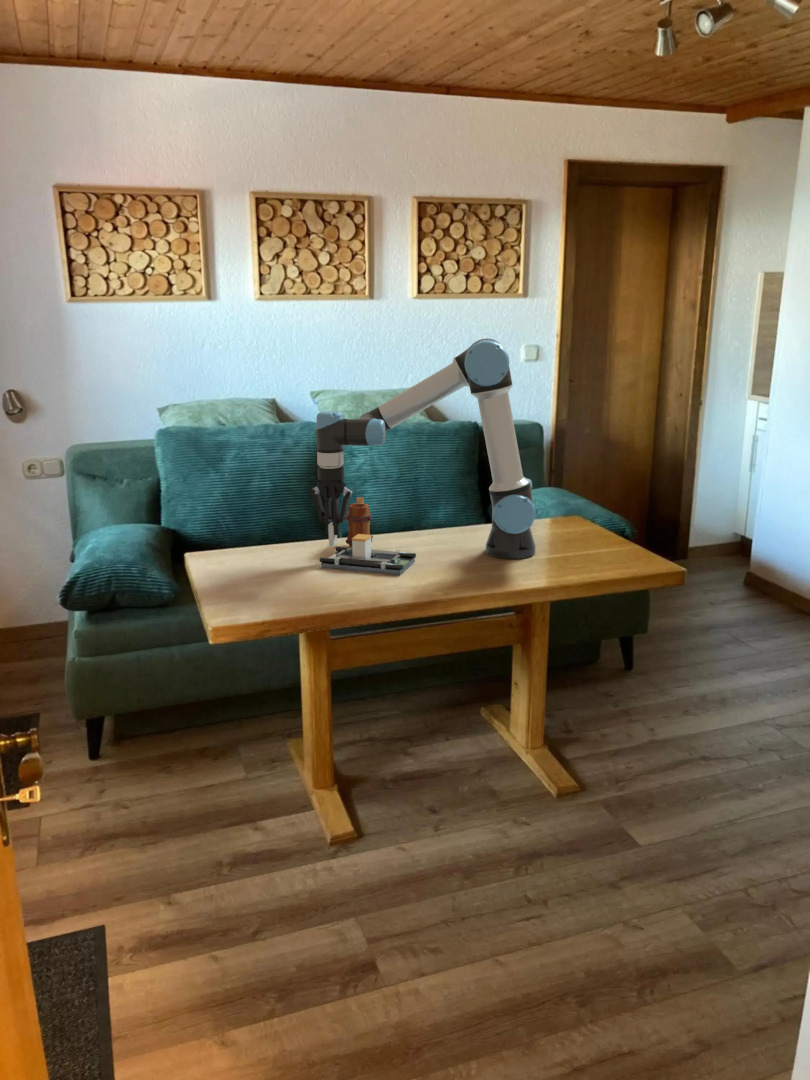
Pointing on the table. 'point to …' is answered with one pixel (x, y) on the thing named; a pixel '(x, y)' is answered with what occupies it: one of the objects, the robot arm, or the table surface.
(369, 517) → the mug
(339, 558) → the panel
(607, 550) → the table surface
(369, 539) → the orange grey block
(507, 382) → the robot arm
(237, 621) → the table surface
